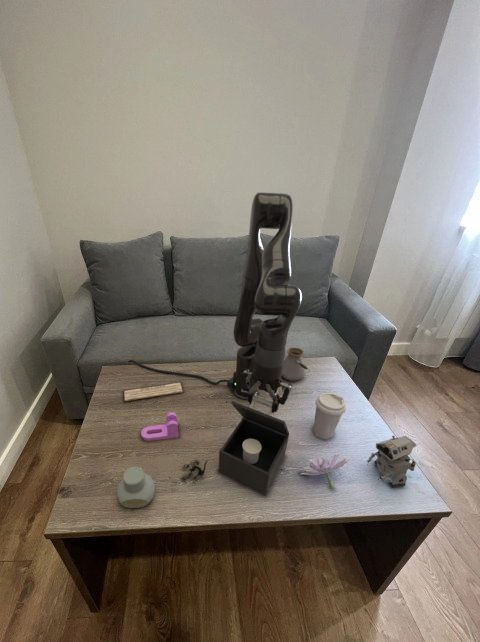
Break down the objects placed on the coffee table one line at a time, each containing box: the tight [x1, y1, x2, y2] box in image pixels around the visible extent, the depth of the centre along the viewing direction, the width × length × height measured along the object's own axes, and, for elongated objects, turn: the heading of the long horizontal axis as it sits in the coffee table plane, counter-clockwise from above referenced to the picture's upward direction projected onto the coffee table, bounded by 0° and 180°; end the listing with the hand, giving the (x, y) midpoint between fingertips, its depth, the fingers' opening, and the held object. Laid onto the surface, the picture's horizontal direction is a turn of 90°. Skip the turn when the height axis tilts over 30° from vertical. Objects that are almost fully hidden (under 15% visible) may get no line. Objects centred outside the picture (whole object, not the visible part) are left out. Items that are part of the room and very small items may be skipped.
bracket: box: [140, 411, 180, 442], centre depth 112 cm, size 13×6×7 cm, turn 98°
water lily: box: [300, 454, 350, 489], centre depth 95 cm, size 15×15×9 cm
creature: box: [182, 460, 208, 481], centre depth 98 cm, size 8×5×8 cm
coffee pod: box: [242, 439, 262, 464], centre depth 96 cm, size 6×6×5 cm
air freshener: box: [116, 466, 156, 509], centre depth 91 cm, size 11×8×10 cm
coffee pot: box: [281, 347, 310, 382], centre depth 132 cm, size 21×12×15 cm, turn 179°
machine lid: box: [230, 394, 290, 437], centre depth 95 cm, size 17×16×5 cm
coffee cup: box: [312, 391, 347, 440], centre depth 109 cm, size 10×10×15 cm
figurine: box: [366, 435, 417, 489], centre depth 93 cm, size 9×12×15 cm
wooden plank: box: [123, 382, 184, 402], centre depth 133 cm, size 24×7×2 cm, turn 102°
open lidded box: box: [218, 417, 290, 497], centre depth 99 cm, size 17×16×10 cm
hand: (262, 407), depth 92 cm, fingers closed on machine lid, 6 cm apart
